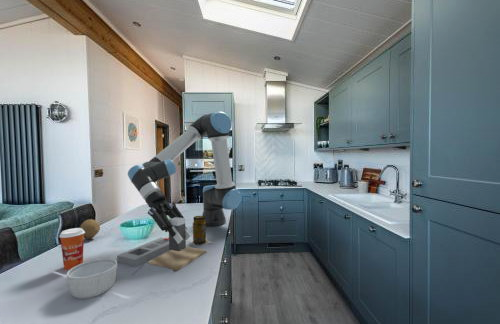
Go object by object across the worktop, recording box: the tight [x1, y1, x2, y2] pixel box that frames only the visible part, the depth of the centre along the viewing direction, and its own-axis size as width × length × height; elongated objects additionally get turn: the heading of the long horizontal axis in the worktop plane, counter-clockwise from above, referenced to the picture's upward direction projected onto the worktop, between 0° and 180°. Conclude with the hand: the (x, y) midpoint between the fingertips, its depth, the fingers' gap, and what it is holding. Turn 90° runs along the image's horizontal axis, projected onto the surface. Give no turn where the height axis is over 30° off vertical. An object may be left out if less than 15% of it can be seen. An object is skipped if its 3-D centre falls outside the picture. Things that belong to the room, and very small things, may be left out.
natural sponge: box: [79, 218, 101, 240], centre depth 122 cm, size 9×9×10 cm
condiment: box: [189, 215, 212, 247], centre depth 114 cm, size 7×8×12 cm
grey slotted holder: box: [116, 236, 170, 268], centre depth 101 cm, size 22×10×4 cm, turn 154°
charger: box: [168, 217, 187, 251], centre depth 96 cm, size 4×5×12 cm
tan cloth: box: [147, 245, 207, 272], centre depth 97 cm, size 18×14×1 cm
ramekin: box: [66, 257, 118, 299], centre depth 75 cm, size 13×13×7 cm
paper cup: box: [59, 227, 85, 271], centre depth 90 cm, size 8×8×14 cm
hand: (184, 239), depth 95 cm, fingers closed on charger, 4 cm apart
